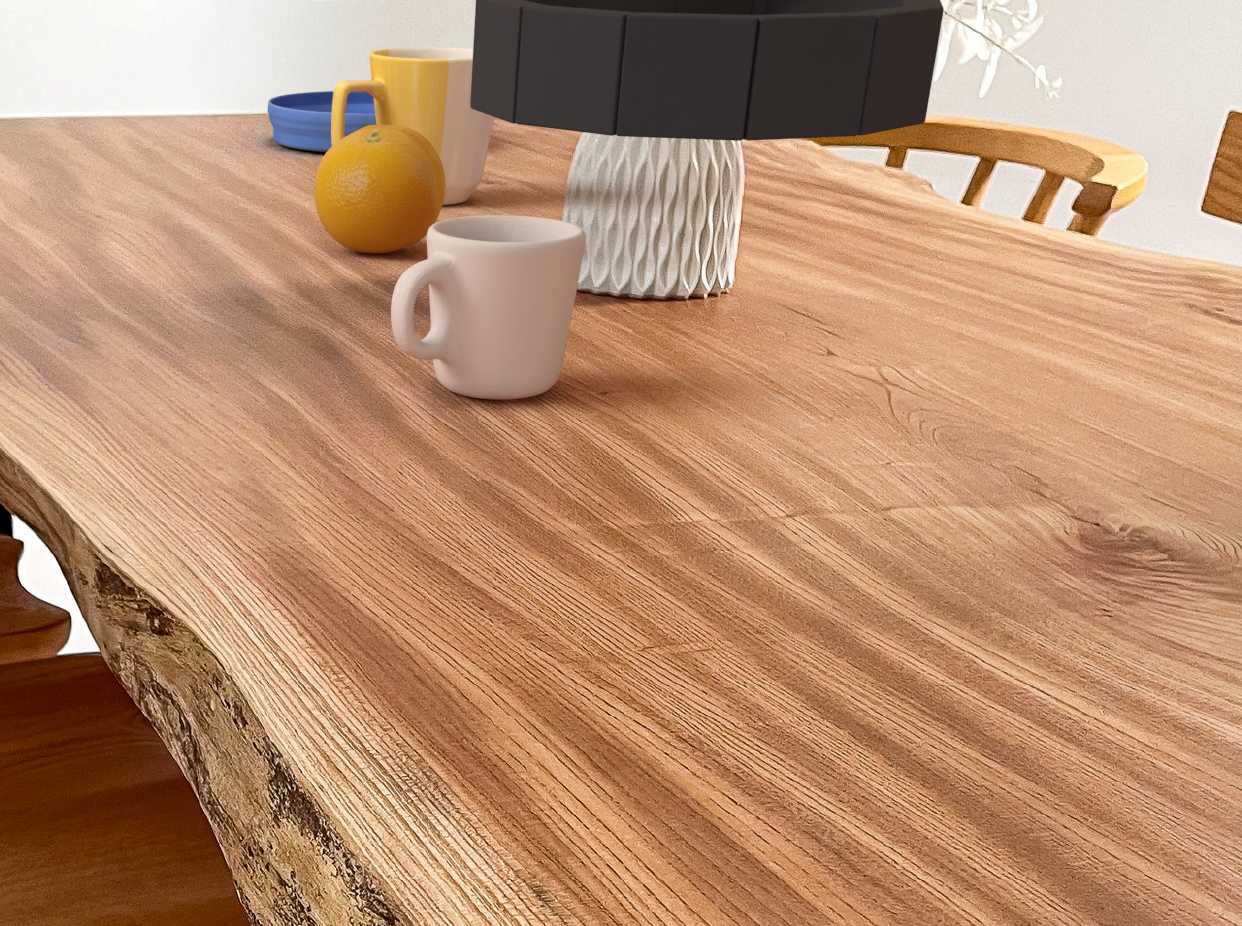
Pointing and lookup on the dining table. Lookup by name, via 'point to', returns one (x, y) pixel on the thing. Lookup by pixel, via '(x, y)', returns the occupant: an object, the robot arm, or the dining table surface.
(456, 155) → the mug
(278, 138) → the bowl
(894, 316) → the dining table surface
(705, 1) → the robot arm
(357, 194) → the fruit
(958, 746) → the dining table surface
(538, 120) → the ring
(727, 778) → the dining table surface
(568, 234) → the cup
